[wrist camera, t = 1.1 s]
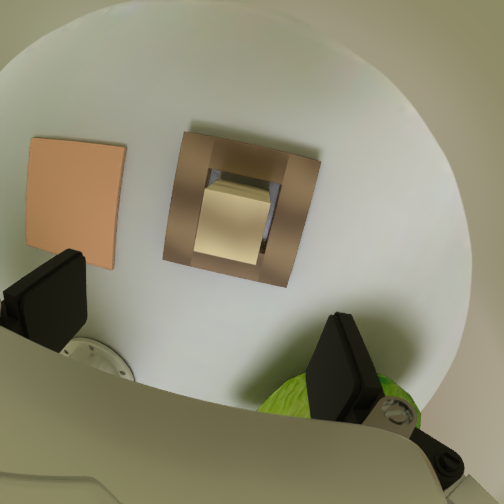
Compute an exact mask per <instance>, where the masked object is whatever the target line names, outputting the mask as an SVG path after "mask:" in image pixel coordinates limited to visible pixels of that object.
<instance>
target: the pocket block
mask: <svg viewBox="0 0 504 504" xmlns="http://www.w3.org/2000/svg"><path fill="white" fill-rule="evenodd" d="M320 165H321V161H317V160H313V159H310V158H306V157H302V156H298V155H294V154H290V153H286V152H282V151H278V150H274V149H270V148H266V147H261V146H257V145H252V144H248V143H243V142H238V141H233V140H228V139H223V138H218V137H213V136H207V135H202V134H196V133H190V132H184V134H183V139H182V143H181V148H180V153H179V159H178V164H177V169H176V175H175V180H174V186H173V192H172V198H171V204H170V210H169V216H168V223H167V230H166V237H165V244H164V252H163V260H166V261H170V262H174V263H179V264H183V265H187V266H191V267H196V268H200V269H204V270H208V271H213V272H217V273H221V274H226V275H230V276H235V277H239V278H244V279H248V280H253V281H257V282H262V283H266V284H271V285H276V286H280V287H285V288H286V287H287V284H288V281H289V277H290V274H291V271H292V267H293V264H294V260H295V257H296V253H297V250H298V246H299V243H300V239H301V236H302V232H303V229H304V225H305V221H306V218H307V214H308V210H309V207H310V203H311V199H312V195H313V192H314V188H315V184H316V180H317V176H318V172H319V169H320ZM211 169H215V170H220V171H225V172H229V173H234V174H239V175H243V176H248V177H252V178H257V179H261V180H265V181H270V182H274V183H278V184H280V188H279V193H278V197H277V201H276V205H275V209H274V213H273V217H272V221H271V225H270V229H269V233H268V237H267V241H266V245H265V248H263V247H260V249H259V253H258V257H257V261H256V265H253V264H249V263H245V262H240V261H236V260H231V259H227V258H222V257H218V256H214V255H209V254H205V253H200V252H196V251H194V245H195V239H196V234H197V228H198V222H199V217H200V212H201V206H202V201H203V196H204V191H205V188H207V187H208V183H209V178H210V173H211Z"/></svg>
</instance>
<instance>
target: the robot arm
mask: <svg viewBox="0 0 504 504" xmlns="http://www.w3.org/2000/svg"><path fill="white" fill-rule="evenodd" d="M3 295H4V300H3V301H2V302H1V300H0V504H499V503H498V502H497V501H496V500H495V499H494V498H493V497H492V496H491V495H490V494H489V493H488V492H487V491H486V490H485V489H484V488H483V487H482V486H481V485H480V484H479V483H478V482H477V481H476V480H475V479H474V478H473V477H472V476H471V475H469V474H468V475H467V476H465V475H464V474H463V473H464V463H463V461H462V459H461V457H460V456H459V455H458V454H457V453H456V452H454V450H452V449H450V448H449V447H447V446H445V445H444V444H442V443H440V442H439V441H437V440H436V439H434V438H432V437H431V436H429V435H428V434H426V433H424V432H423V431H421V430H420V429H418V428H416V427H415V425H416V423H417V419H418V417H417V412H416V411H415V409H414V407H413V406H412V405H411V404H410V403H408V402H407V401H406V400H404V399H402V398H399V397H395V396H385V393H384V391H383V387H382V385H381V382H380V380H379V377H378V375H377V372H376V370H375V368H374V365H373V363H372V360H371V358H370V356H369V353H368V351H367V349H366V346H365V344H364V342H363V339H362V337H361V335H360V333H359V330H358V328H357V326H356V324H355V321H354V319H353V317H352V315H351V314H345V313H340V312H336V313H335V314H334V315H330V316H329V317H328V320H327V322H326V325H325V327H324V330H323V332H322V335H321V337H320V340H319V342H318V344H317V347H316V349H315V352H314V354H313V356H312V359H311V361H310V363H309V365H308V368H307V370H306V375H305V380H306V387H307V395H308V402H309V410H310V418H311V419H310V418H301V417H293V416H285V415H278V414H271V413H265V412H258V411H253V410H247V409H242V408H236V407H231V406H226V405H221V404H217V403H212V402H208V401H203V400H199V399H195V398H191V397H187V396H183V395H179V394H175V393H171V392H168V391H164V390H161V389H157V388H154V387H150V386H147V385H144V384H141V383H137V382H134V378H133V375H132V373H131V371H130V369H129V368H128V366H127V365H126V363H125V362H124V361H123V360H122V359H121V358H120V357H119V356H118V355H117V354H116V353H115V352H114V351H112V350H111V349H110V348H108V347H107V346H105V345H103V344H101V343H100V342H97V341H95V340H92V339H88V338H74V339H72V338H73V337H74V336H75V334H76V333H77V332H78V331H79V330H80V329H81V328H82V326H83V325H84V324H85V323H86V320H87V298H86V259H85V257H84V256H83V254H82V252H81V251H77V250H74V249H70V248H68V249H66V250H64V251H63V252H61V253H59V254H58V255H56V256H55V257H53V258H52V259H50V260H49V261H47V262H45V263H44V264H42V265H41V266H39V267H38V268H36V269H35V270H33V271H32V272H30V273H29V274H27V275H26V276H24V277H23V278H21V279H20V280H19V281H17V282H16V283H14V284H13V285H11V286H10V287H9V288H7V289H6V290H4V291H3ZM71 339H72V340H71ZM60 352H61V354H59V353H60Z"/></svg>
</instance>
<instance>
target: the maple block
mask: <svg viewBox="0 0 504 504" xmlns="http://www.w3.org/2000/svg"><path fill="white" fill-rule="evenodd" d="M270 204H271V201H270V194H269V189H265V188H260V187H256V186H251V185H247V184H243V183H238V182H233V181H229V180H224V179H218V180H217V181H215V182H214V183H212V184H211V185H210V186H208V187H207V188H205V191H204V196H203V201H202V206H201V212H200V217H199V222H198V228H197V234H196V239H195V245H194V251H196V252H200V253H205V254H209V255H214V256H218V257H222V258H227V259H231V260H236V261H240V262H245V263H249V264H253V265H256V261H257V257H258V253H259V249H260V245H261V241H262V237H263V233H264V229H265V225H266V221H267V217H268V213H269V209H270Z"/></svg>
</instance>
